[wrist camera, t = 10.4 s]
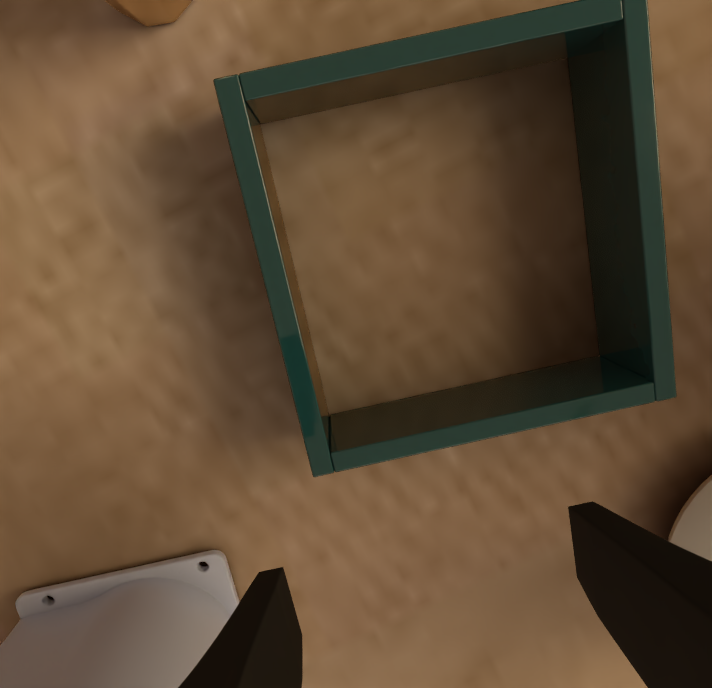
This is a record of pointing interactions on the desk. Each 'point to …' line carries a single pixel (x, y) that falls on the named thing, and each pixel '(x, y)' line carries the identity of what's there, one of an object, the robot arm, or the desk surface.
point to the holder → (601, 207)
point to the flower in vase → (695, 522)
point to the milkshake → (151, 10)
